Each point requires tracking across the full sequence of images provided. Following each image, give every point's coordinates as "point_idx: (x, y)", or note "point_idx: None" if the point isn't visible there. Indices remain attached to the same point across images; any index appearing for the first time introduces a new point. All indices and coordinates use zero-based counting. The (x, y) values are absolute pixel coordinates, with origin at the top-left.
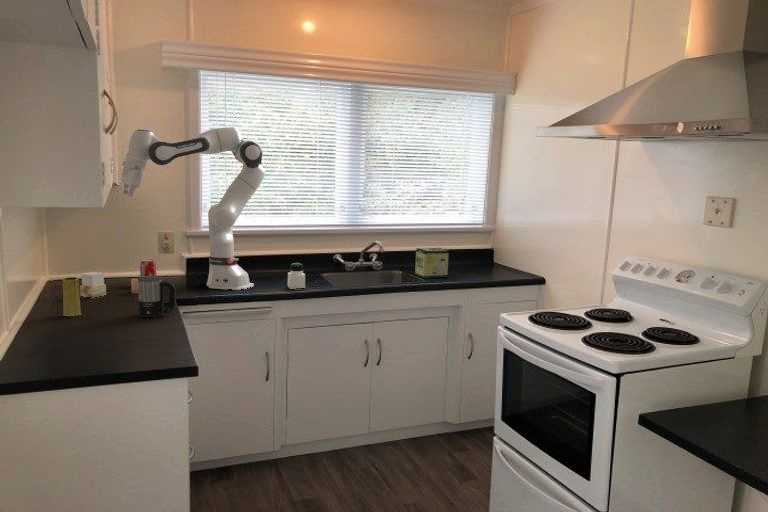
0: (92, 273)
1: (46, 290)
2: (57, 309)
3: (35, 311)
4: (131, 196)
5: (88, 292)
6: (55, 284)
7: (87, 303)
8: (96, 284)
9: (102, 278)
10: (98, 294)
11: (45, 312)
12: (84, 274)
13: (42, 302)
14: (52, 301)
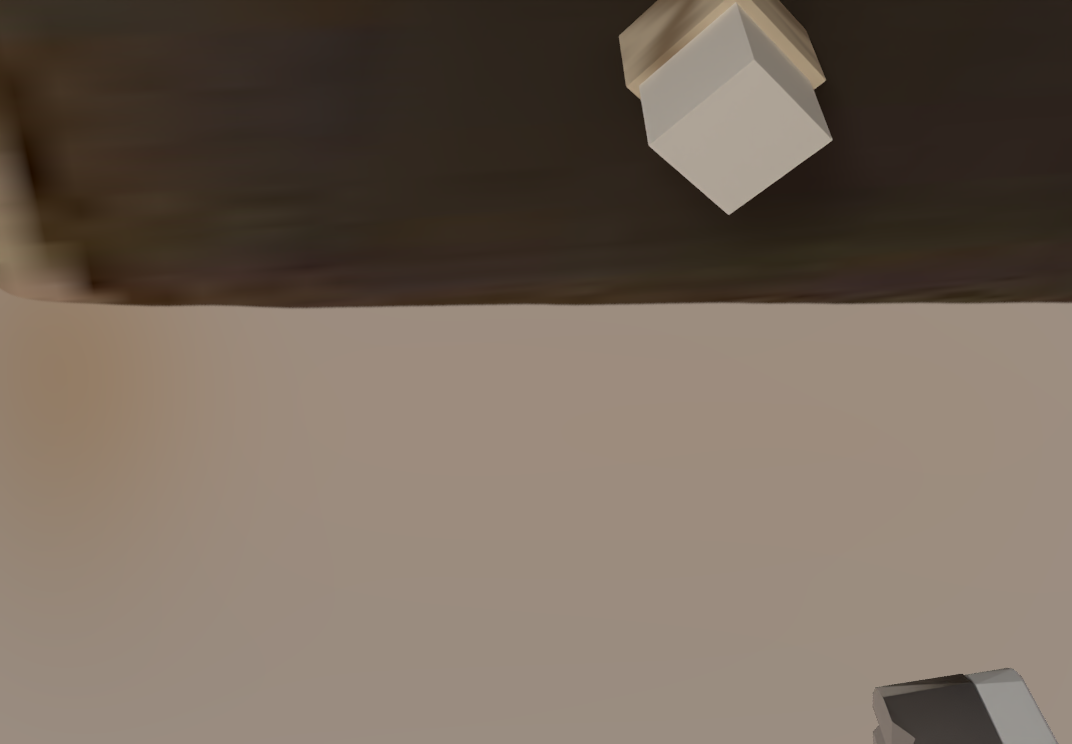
0: (740, 144)
1: (436, 298)
2: (1022, 206)
3: (1001, 291)
4: (1013, 681)
5: None
6: (239, 274)
7: (954, 60)
8: (790, 65)
9: (756, 43)
10: (779, 7)
11: (1059, 250)
12: (753, 195)
13: (784, 284)
14: (781, 245)
